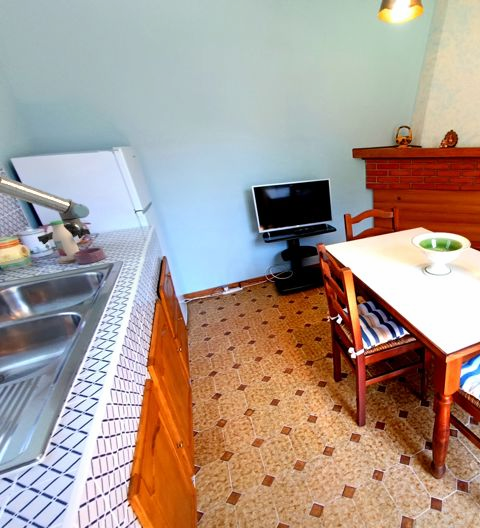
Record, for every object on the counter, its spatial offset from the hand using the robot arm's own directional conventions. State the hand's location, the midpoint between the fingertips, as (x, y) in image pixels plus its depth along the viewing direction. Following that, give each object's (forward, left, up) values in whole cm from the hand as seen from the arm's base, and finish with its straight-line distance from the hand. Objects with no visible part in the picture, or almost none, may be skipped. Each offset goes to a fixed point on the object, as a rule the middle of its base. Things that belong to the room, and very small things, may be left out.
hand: (61, 238), depth 148 cm
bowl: (+6, -8, -12) cm, 16 cm away
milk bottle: (+1, +3, -12) cm, 12 cm away
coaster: (+1, +3, -12) cm, 13 cm away
